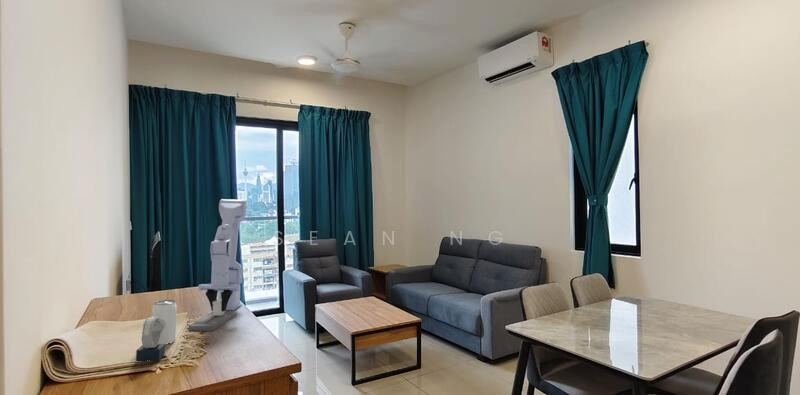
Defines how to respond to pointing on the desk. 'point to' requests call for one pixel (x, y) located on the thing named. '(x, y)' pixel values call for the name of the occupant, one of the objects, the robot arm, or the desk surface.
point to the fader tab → (217, 307)
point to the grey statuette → (151, 340)
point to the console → (211, 322)
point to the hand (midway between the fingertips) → (218, 310)
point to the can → (166, 319)
